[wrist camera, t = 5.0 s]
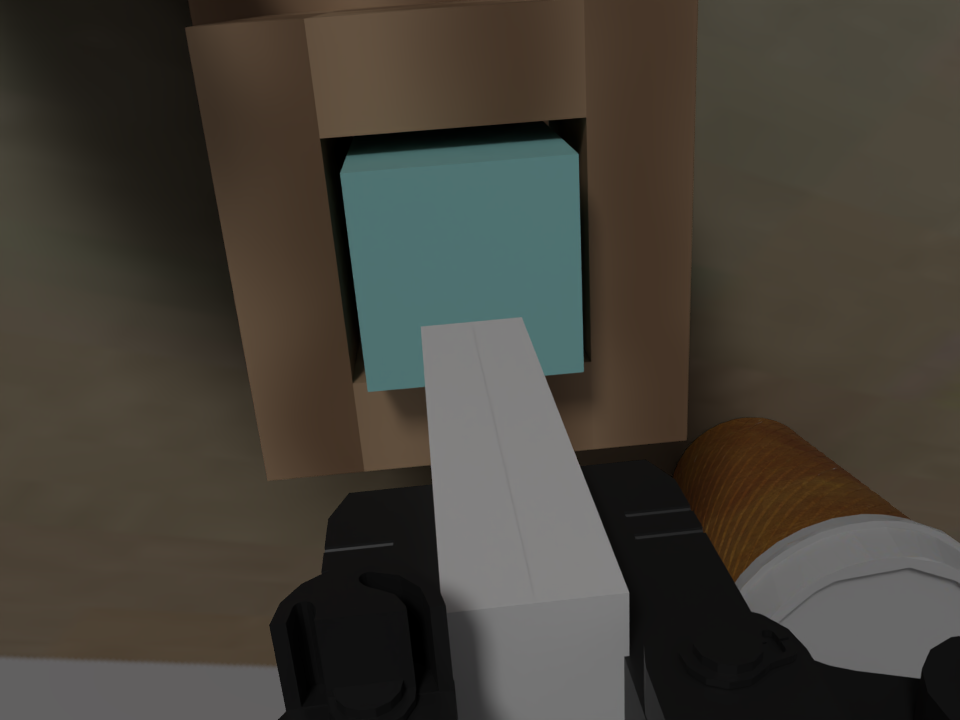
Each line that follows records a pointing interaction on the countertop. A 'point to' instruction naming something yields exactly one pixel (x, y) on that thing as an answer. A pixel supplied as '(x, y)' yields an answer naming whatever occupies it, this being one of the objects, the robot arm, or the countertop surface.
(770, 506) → the disposable coffee cup
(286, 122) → the chute
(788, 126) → the countertop surface
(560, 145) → the block
